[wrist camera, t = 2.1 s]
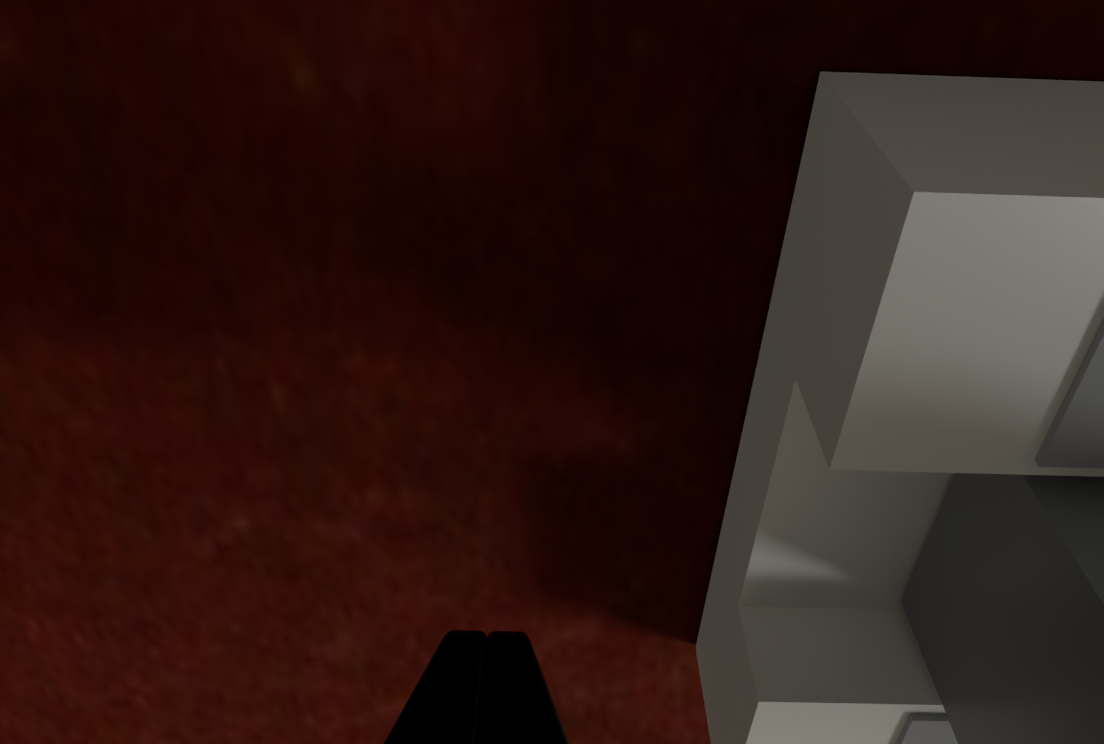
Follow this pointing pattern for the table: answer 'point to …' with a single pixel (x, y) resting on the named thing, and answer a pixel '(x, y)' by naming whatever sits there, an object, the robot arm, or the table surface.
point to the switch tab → (1015, 608)
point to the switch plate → (901, 386)
